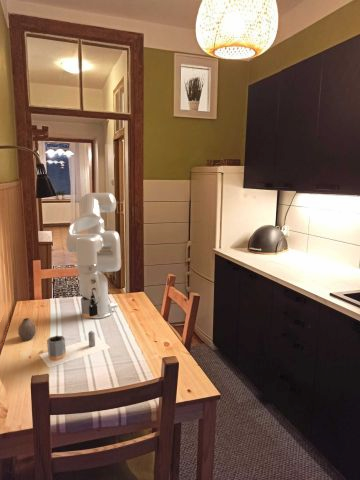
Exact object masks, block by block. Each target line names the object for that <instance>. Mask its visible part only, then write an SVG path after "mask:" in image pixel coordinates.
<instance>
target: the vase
mask: <svg viewBox="0 0 360 480" xmlns="http://www.w3.org/2000/svg"><path fill="white" fill-rule="evenodd" d="M36 329H37V328H36V325H35V324H34V322H33V321H31V319H30V318H27V317H26V318H23V319H22V321H21V323H20V324H19V326H18V330H17V332H18V336H19V337H20V339H21V340H23V341H30V340H32V339H33V338H34V337H35V335H36V332H37V330H36Z"/></svg>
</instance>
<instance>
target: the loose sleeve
mask: <svg viewBox="0 0 360 480" xmlns="http://www.w3.org/2000/svg"><path fill="white" fill-rule="evenodd" d="M91 298H94V297H91ZM92 301H94V299H93V300H91V302H92ZM80 303H81V304H80V305H81V306H80V307H81V308H80V309H81V317H83V318H86V319H87V318H90V319H92V318H91V317H95V316H97V315H95V316H91V317H90V316H89V306H90V304H89V299H87V298H85V297H82V296H81V298H80ZM97 310H98V305H97Z"/></svg>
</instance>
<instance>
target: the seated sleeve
mask: <svg viewBox="0 0 360 480" xmlns="http://www.w3.org/2000/svg"><path fill="white" fill-rule="evenodd" d="M55 341H56V342H55ZM46 344H47V346H46V347H47V352H48V358H49V359H50V360H54V361H57V360H60V359H63V358H64V357H65V356H66V350H65V347H66V338H65V337H64V336H63V335H53V336H50V337H49V338H48V339H46Z"/></svg>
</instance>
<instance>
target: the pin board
mask: <svg viewBox="0 0 360 480" xmlns="http://www.w3.org/2000/svg"><path fill="white" fill-rule="evenodd" d="M95 335H96V334H95V332H94V331H93V330H90V331H88V339H87V340H82V341H79V342H76V343H73V344H70V345H67V346H66V345H65V350H66V356H65V357H64V358H63V359H60V360H57V361H54V360H50V359H49V358H48V351H46V352H43V353H39V354H38V355H39V357H40V358H41V359H42V360H43V362H44V363H45V365H46V366H47V368H51V367H55V366H58V365H62V364H65V363H66V362H71V361H73V360H77V359H80V358H83V357H86V356H89V355H92V354H95V353H98V352H101V351H104V350H107V349H110V348H111V347H110V346H109V345H108V344H107V343H106V342H104V341H103V340H102V339H101V338H100V337H98V336H95ZM55 342H56V341H55Z"/></svg>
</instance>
